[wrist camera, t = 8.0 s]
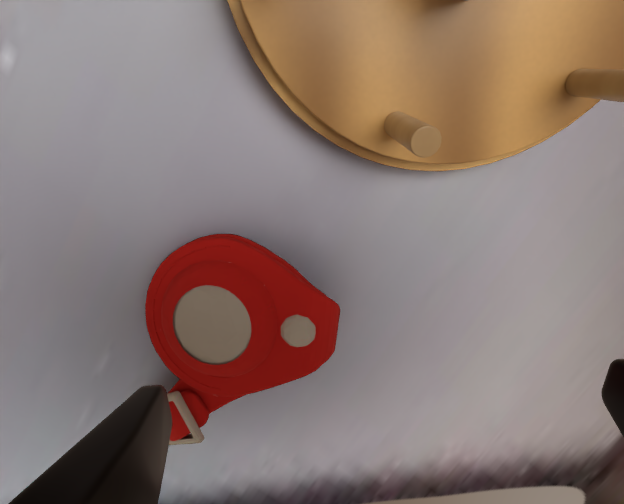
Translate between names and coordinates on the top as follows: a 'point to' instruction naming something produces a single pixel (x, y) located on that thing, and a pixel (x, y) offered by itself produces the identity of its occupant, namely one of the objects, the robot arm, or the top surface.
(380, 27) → the drying rack
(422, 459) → the top surface
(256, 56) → the rack base
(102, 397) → the top surface
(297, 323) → the tracker holder
